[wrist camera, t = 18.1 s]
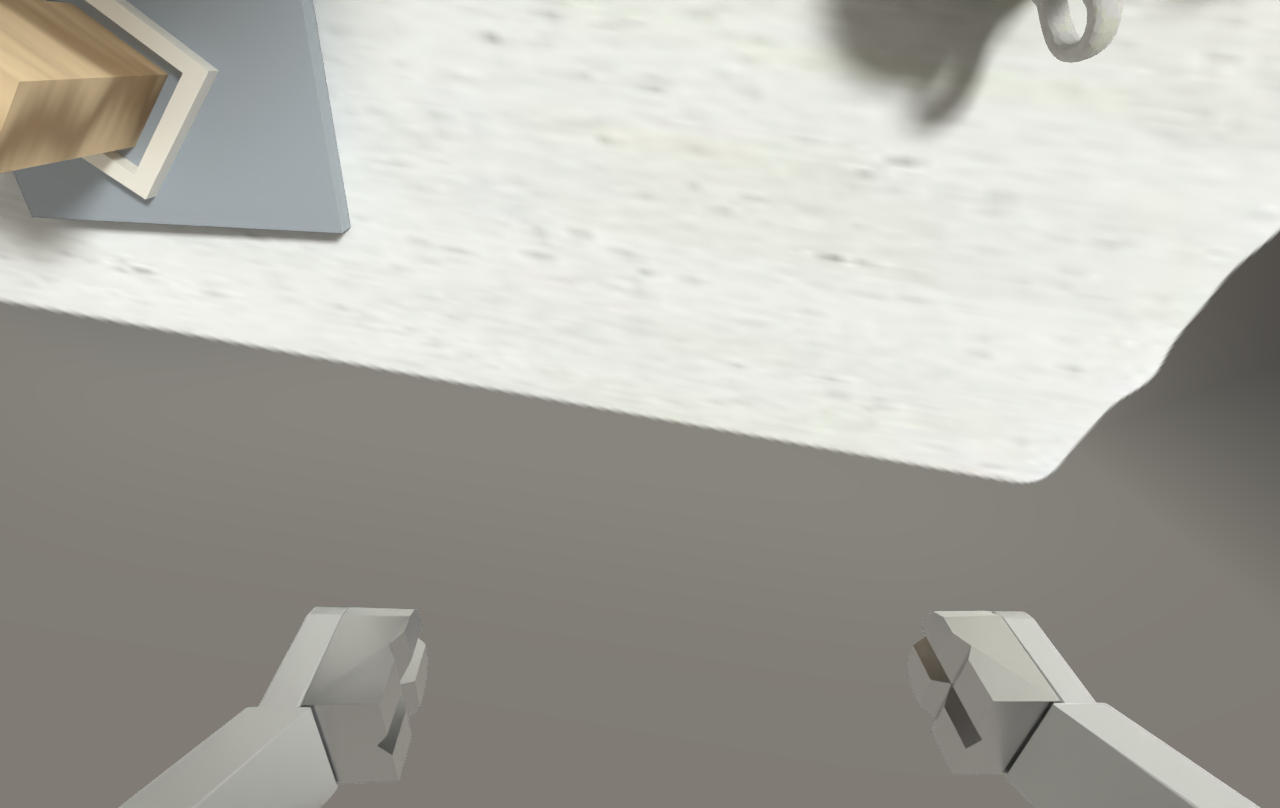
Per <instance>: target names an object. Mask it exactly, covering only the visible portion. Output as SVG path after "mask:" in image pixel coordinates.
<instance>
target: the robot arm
mask: <svg viewBox="0 0 1280 808" xmlns="http://www.w3.org/2000/svg"><path fill="white" fill-rule="evenodd" d="M421 628H422V621H421V617H420V612H419V610H415V609H383V608H351V607H350V608H342V607H315V608H314V609H313V610H312V611H311V612H310V613H309V614H308V615H307V616H306V617H305V619H304V621H303V623H302V625H301V627H300V629H299V631H298V633H297V634H296V636H295V638H294V640H293V642H292V644H291V646H290V647H289V649H288V651H287V653H286V655H285V657H284V659H283V661H282V662H281V664H280V667H279V668H278V670H277V672H276V674H275V676H274V678H273V680H272V681H271V683H270V685H269V687H268V689H267V691H266V693H265V695H264V696H263V698H262V700H261V702H260V704H259V706H258V707H247V708H245V709H244V710H243V711H242V712H240V713H239V714H238V715H237V716H235V717H234V718H233V719H231V720H230V721H229V722H228V723H226V724H225V725H224V726H222V727H221V728H220V729H219V730H217V731H216V732H215V733H213V734H212V735H211V736H209V737H208V738H207V739H206V740H204V741H203V742H202V743H201V744H199V745H198V746H197V747H195V748H194V749H193V750H192V751H190V752H189V753H188V754H187V755H185V756H184V757H183V758H181V759H180V760H179V761H178V762H176V763H175V764H174V765H172V766H171V767H170V768H168V769H167V770H166V771H165V772H164V773H162V774H161V775H160V776H158V777H157V778H156V779H154V780H153V781H152V782H151V783H149V784H148V785H147V786H146V787H144V788H143V789H141V790H140V791H139V792H138V793H136V794H135V795H134V796H133V797H131V798H130V799H129V800H127V801H126V802H125V803H124V804H122V805H121V806H120V807H118V808H321V807H322V805H323V804H324V803H325V802H326V801H327V800H328V799H329V797H331V795H332V794H333V793H334V792H335V791H336V790H337V787H338V786H337V784H354V783H376V782H398V781H399V778H400V775H401V772H402V768H403V765H404V761H405V758H406V754H407V751H408V747H409V744H410V740H411V737H412V735H411V730H410V725H409V720H408V719H409V718H410V717H411V716H412V715H413V714H414V713H415V712H416V711H417V710H418V709H419V708H420V705H421V701H422V697H423V694H424V690H425V684H426V676H427V650H426V644H425V643H423V642H422V641H421V640H420V639H418V637H419V634H420V631H421ZM921 628H922V630H923V631H924V633H925V635H926V637H924V638H923V639H921V640H920V641H918V642H917V643H916V644H914V645H913V647H912V650H911V652H910V655H909V658H908V676H909V680H910V684H911V688H912V691H913V693H914V695H915V698H916V700H917V702H918V704H919V705H920V706H921V707H922V708H923V709H924V710H926V711H927V712H928V713H929V714H930V715H931V716H932V717H934V723H933V727H932V734H933V736H934V738H935V740H936V742H937V744H938V746H939V748H940V751H941V753H942V755H943V757H944V759H945V761H946V763H947V765H948V767H949V769H950V771H951V773H952V774H979V775H1006V777H1005V779H1006V780H1007V781H1008V782H1009V783H1010V784H1011V785H1012V786H1013V787H1015V788H1016V790H1017V791H1019V793H1021V794H1022V796H1023V797H1025V798H1026V799H1027V800H1028V801H1029V802H1030V803H1031V804H1032V805H1033V806H1034V807H1035V808H1260V807H1258V806H1257V805H1255V804H1254V803H1253V802H1251V801H1249V800H1248V799H1247V798H1245V797H1244V796H1242V795H1241V794H1239V793H1238V792H1236V791H1235V790H1233V789H1232V788H1230V787H1229V786H1227V785H1226V784H1225V783H1223V782H1222V781H1220V780H1219V779H1217V778H1216V777H1214V776H1213V775H1211V774H1210V773H1208V772H1207V771H1205V770H1204V769H1202V768H1201V767H1199V766H1198V765H1197V764H1195V763H1194V762H1192V761H1191V760H1189V759H1187V758H1186V757H1185V756H1183V755H1182V754H1180V753H1179V752H1177V751H1176V750H1174V749H1173V748H1171V747H1170V746H1168V745H1167V744H1166V743H1164V742H1163V741H1161V740H1159V739H1158V738H1157V737H1155V736H1154V735H1152V734H1151V733H1149V732H1148V731H1146V730H1145V729H1143V728H1142V727H1140V726H1139V725H1137V724H1136V723H1135V722H1133V721H1132V720H1130V719H1129V718H1127V717H1126V716H1124V715H1123V714H1121V713H1120V712H1118V711H1117V710H1115V709H1114V708H1112V707H1111V706H1110V705H1108V704H1107V703H1096V702H1095V700H1094V699H1093V698H1092V697H1091V695H1090V694H1089V692H1088V691H1087V690H1086V688H1085V687H1084V686H1083V684H1082V683H1081V682H1080V680H1079V679H1078V678H1077V677H1076V675H1075V674H1074V672H1073V671H1072V670H1071V668H1070V667H1069V666H1068V664H1067V663H1066V662H1065V660H1064V659H1063V658H1062V656H1061V655H1060V654H1059V652H1058V651H1057V650H1056V648H1055V647H1054V646H1053V644H1052V643H1051V642H1050V640H1049V639H1048V638H1047V636H1046V635H1045V634H1044V632H1043V631H1042V629H1041V628H1040V627H1039V625H1038V624H1037V623H1036V622H1035V620H1034V619H1033V618H1032V617H1031V616H1029V615H1028V614H1026V613H1025V612H989V611H933V612H931V613H930V614H928V615H927V616H926V618H925V619H924V622H923V624H922V626H921Z"/></svg>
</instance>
